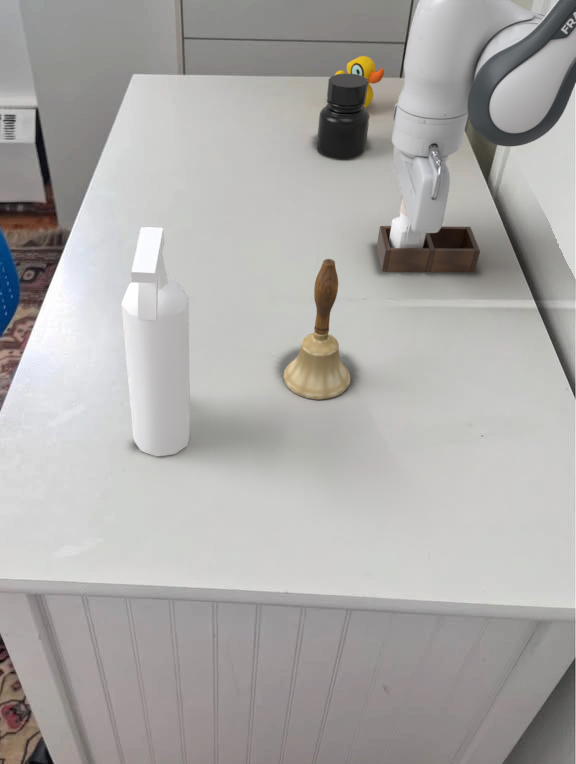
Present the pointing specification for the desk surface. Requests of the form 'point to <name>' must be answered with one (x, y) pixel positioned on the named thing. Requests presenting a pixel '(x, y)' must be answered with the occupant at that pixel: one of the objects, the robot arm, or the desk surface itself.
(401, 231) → the pepper shaker
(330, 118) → the ink bottle
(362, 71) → the duckling
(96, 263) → the desk surface
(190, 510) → the desk surface
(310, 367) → the hand bell
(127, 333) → the white spray bottle
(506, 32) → the robot arm
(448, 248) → the holder
